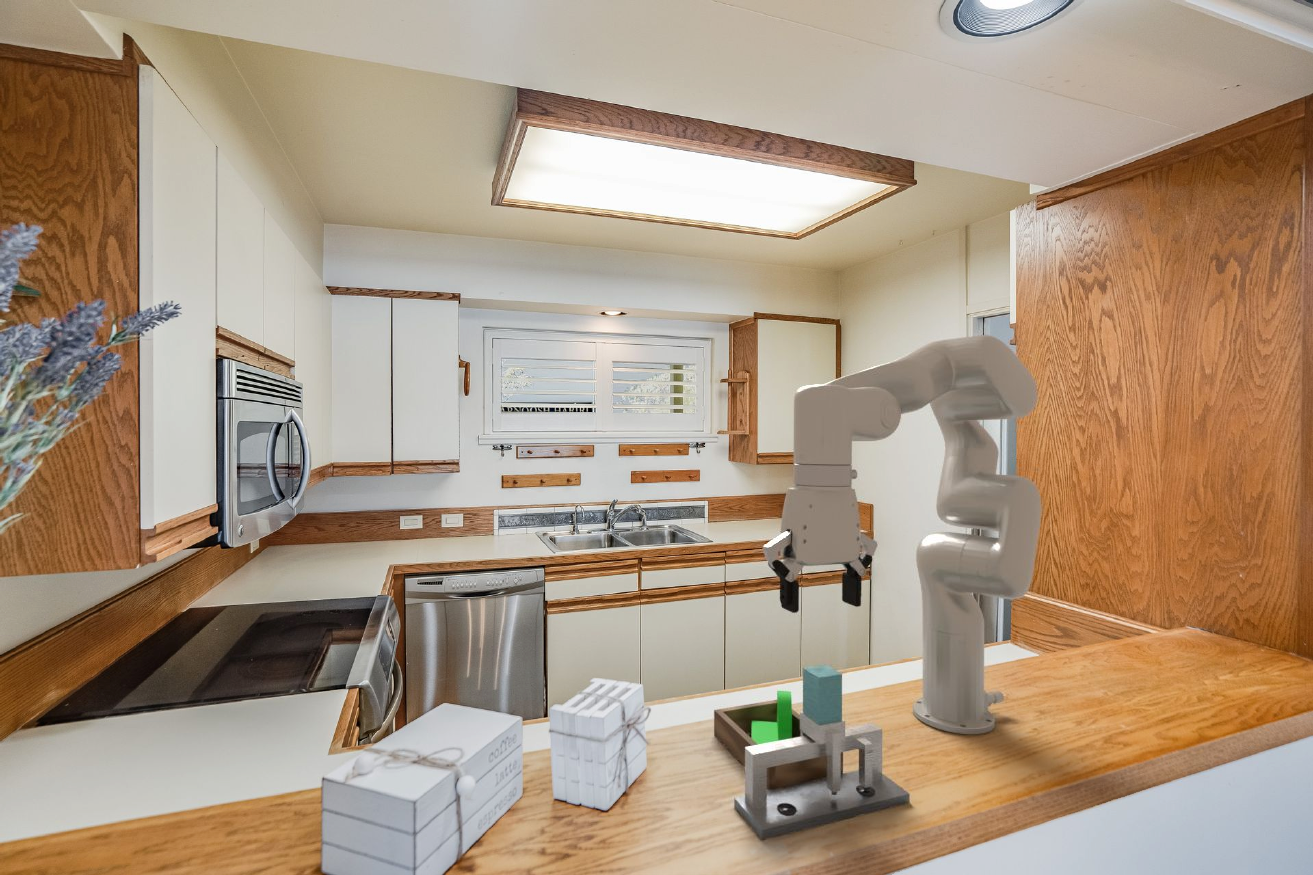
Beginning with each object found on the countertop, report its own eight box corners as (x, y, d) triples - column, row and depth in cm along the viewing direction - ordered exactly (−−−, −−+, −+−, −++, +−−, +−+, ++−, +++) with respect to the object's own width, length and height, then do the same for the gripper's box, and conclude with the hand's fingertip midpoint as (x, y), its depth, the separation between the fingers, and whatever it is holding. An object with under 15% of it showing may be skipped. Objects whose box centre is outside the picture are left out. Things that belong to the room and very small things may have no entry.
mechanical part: (751, 732, 99) (752, 683, 99) (789, 735, 98) (790, 685, 98) (751, 772, 87) (751, 715, 87) (794, 776, 86) (794, 719, 86)
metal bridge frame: (872, 780, 85) (872, 722, 85) (893, 796, 81) (893, 735, 82) (744, 809, 78) (745, 747, 78) (761, 828, 75) (761, 762, 75)
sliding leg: (824, 771, 84) (824, 663, 84) (849, 792, 79) (849, 677, 79) (799, 777, 83) (800, 667, 83) (823, 798, 78) (823, 681, 78)
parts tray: (778, 723, 103) (778, 699, 103) (843, 775, 87) (843, 746, 87) (714, 734, 98) (714, 709, 98) (768, 791, 82) (769, 761, 83)
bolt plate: (873, 775, 87) (873, 765, 87) (909, 802, 80) (909, 792, 80) (734, 806, 79) (734, 796, 79) (761, 840, 72) (761, 829, 72)
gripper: (857, 476, 88) (856, 595, 88) (750, 477, 82) (749, 605, 82) (894, 479, 81) (893, 609, 81) (780, 480, 75) (779, 620, 75)
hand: (821, 607), depth 81 cm, fingers open, 9 cm apart
